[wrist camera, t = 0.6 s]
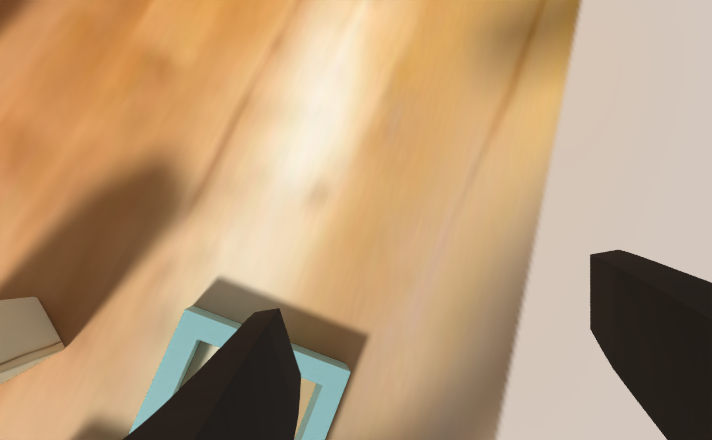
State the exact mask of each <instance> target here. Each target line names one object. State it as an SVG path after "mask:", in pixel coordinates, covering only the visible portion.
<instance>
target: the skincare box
mask: <svg viewBox="0 0 712 440" xmlns="http://www.w3.org/2000/svg"><path fill="white" fill-rule="evenodd" d="M64 348H65V347H64V345H63V343H62V341H61V339H60V337H59V335H58V334H57V332H56V330H55V328H54V326H53V325H52V323H51V321H50V319H49V317H48V316H47V314H46V312H45V310H44V309H43V307H42V305H41V303H40V302H39V300H38V298H37V297H34V296H33V297H24V298H15V299H6V300H0V385H1V384H3V383H4V382H6V381H8V380H10V379H12V378H14V377H16V376H17V375H19V374H21V373H23V372H25V371H27V370H28V369H30V368H32V367H34V366H35V365H37V364H39V363H41V362H43V361H44V360H46V359H48V358H50V357H51V356H53V355H55V354H57V353H59V352H60V351H62V350H64Z"/></svg>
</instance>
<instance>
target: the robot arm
mask: <svg viewBox="0 0 712 440" xmlns="http://www.w3.org/2000/svg"><path fill="white" fill-rule="evenodd" d="M590 309H591V311H590V316H591V317H590V322H591V323H590V324H591V325H590V329H591V331H592V333H593V335H594V336H595V338H596V340H597V342H598V344H599V345H600V347H601V349H602V351H603V352H604V354H605V356H606V357H607V359H608V361H609V362H610V364H611V366H612V368H613V369H614V370H615V372H616V373H617V374H618V376H619V377H620V379H621V380H622V381H623V382H624V384H625V385H626V386H627V388H628V389H629V390H630V392H631V393H632V394H633V396H634V397H635V398H636V400H637V401H638V402H639V403H640V405H641V406H642V407H643V409H644V410H645V411H646V413H647V414H648V415H649V417H650V418H651V419H652V420H653V422H654V423H655V424H656V426H657V427H658V428H659V430H660V431H661V432H662V433H663V435H664V436H665V437H666V439H667V440H712V283H711V282H708V281H706V280H703V279H700V278H697V277H695V276H692V275H689V274H687V273H684V272H681V271H678V270H676V269H673V268H671V267H668V266H665V265H663V264H660V263H657V262H655V261H652V260H649V259H646V258H644V257H640V256H638V255H634V254H632V253H629V252H625V251H621V250H614V251H608V252H603V253H597V254H592V255H590ZM300 386H301V373H300V370H299V367H298V364H297V361H296V358H295V355H294V352H293V349H292V346H291V343H290V340H289V337H288V334H287V331H286V328H285V325H284V322H283V318H282V315H281V312H280V309H279V308H278V309H272V310H266V311H260V312H255V313H254V314H253V315H251V316H250V317H249V318H248V319H247V320H246V321H245V322H244V323H243V324H242V325H241V326H240V327H239V329H238V330H237V331H236V332H235V333H234V334H233V335H232V336H231V337H230V338H229V339H228V340H227V341H226V342H225V343H224V344H223V346H222V347H221V348H220V349H219V350H218V351H217V352H216V353H215V354H214V355H213V356H212V357H211V358H210V359H209V360H208V361H207V362H206V363H205V364H204V365H203V367H202V368H201V369H200V370H199V371H198V372H197V373H196V374H195V375H194V376H192V377H191V378H190V379H189V380H188V381H187V382H186V383H185V384H184V385H183V386H182V387H181V388H180V389H179V390H178V391H177V392H176V393H175V394H174V395H173V396H172V397H171V398H170V399H169V400H168V401H167V402H166V403H165V404H164V405H162V406H161V407H160V408H159V409H158V410H157V411H156V412H155V413H154V414H152V415H151V416H150V417H149V418H148V419H147V420H146V421H144V422H143V423H142V424H141V425H140V426H138V427H137V428H136V429H135V430H134V431H132V432H131V433H130V434H129V435H128V436H126V437H125V438H124V439H123V440H294V436H295V431H296V426H297V420H298V414H299V402H300Z"/></svg>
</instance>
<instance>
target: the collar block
mask: <svg viewBox="0 0 712 440" xmlns="http://www.w3.org/2000/svg"><path fill="white" fill-rule="evenodd" d="M241 325H242V324H240V323H238V322H235V321H232V320H230V319H227V318H224V317H222V316H219V315H216V314H214V313H211V312H209V311H206V310H203V309H201V308H198V307H195V306H193V305H192V306H190V307H189V308H187V309H185V310H184V313H183V315H182V317H181V319H180V322H179V324H178V326H177V328H176V330H175V333H174V335H173V337H172V339H171V342H170V344H169V346H168V348H167V350H166V353H165V355H164V357H163V359H162V362H161V364H160V366H159V368H158V370H157V373H156V375H155V377H154V379H153V382H152V384H151V386H150V388H149V390H148V393H147V395H146V397H145V399H144V402H143V404H142V406H141V408H140V410H139V413H138V415H137V417H136V419H135V422H134V424H133V426H132V428H131V430H130V433H131V432H132V431H134V430H135V429H136V428H137V427H138V426H140V425H141V424H142V423H143V422H144V421H146V420H147V419H148V418H149V417H150V416H151V415H152V414H154V413H155V412H156V411H157V410H158V409H159V408H160V407H161V406H162V405H164V404H165V403H166V402H167V401H168V400H169V399H170V398H171V397H172V396H173V395H174V394H175V393H176V392H177V391H178V390H179V388H180V386H181V383H182V381H183V379H184V376H185V374H186V372H187V370H188V367H189V365H190V363H191V361H192V358H193V356H194V354H195V351H196V349H197V347H198V345H199V342H200V340H201V341H204V342H206V343H209V344H212V345H214V346H217V347H220V348H221V347H222V346H223V344H224V343H225V342H226V341H227V340H228V339H229V338H230V337H231V336H232V335H233V334H234V333H235V332H236V331H237V330H238V329H239V327H240V326H241ZM291 346H292V349H293V352H294V355H295V358H296V361H297V364H298V367H299V370H300V373H301V378H304V379H306V380H309V381H312V382H315V383H317V384H316V386H315V389H314V391H313V394H312V396H311V399H310V401H309V404H308V407H307V409H306V412H305V414H304V417H303V419H302V422H301V424H300V427H299V429H298V432H297V435H296V437H295V440H325V438H326V435H327V433H328V430H329V427H330V425H331V422H332V420H333V417H334V414H335V412H336V409H337V407H338V404H339V401H340V399H341V396H342V394H343V391H344V388H345V386H346V383H347V381H348V378H349V375H350V373H351V371H350V370H349V368H348V367H347V365H346V363H343V362H341V361H338V360H335V359H333V358H330V357H327V356H325V355H322V354H319V353H317V352H314V351H311V350H309V349H306V348H304V347H301V346H298V345H296V344H293V343H291ZM130 433H129V434H130Z"/></svg>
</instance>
